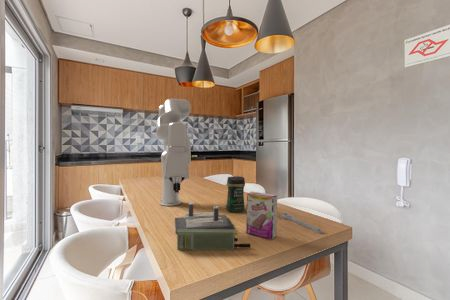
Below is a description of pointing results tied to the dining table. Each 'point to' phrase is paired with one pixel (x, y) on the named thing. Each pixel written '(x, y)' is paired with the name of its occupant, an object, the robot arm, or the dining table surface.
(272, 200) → the candy bar box
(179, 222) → the breaker panel
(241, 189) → the coffee jar
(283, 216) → the adjustable wrench
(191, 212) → the handle
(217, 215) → the handle
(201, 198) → the dining table surface
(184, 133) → the robot arm
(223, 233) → the handheld radio
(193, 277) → the dining table surface
